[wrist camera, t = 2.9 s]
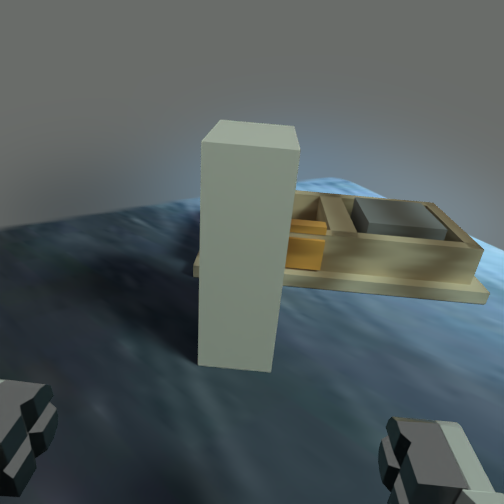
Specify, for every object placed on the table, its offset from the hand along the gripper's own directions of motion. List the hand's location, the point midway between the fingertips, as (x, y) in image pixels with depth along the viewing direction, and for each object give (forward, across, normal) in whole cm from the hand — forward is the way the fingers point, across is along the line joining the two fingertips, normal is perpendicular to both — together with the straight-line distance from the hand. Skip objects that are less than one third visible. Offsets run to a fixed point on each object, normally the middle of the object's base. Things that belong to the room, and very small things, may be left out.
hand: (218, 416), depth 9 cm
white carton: (+12, 0, +7) cm, 14 cm away
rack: (+24, -7, +7) cm, 26 cm away
